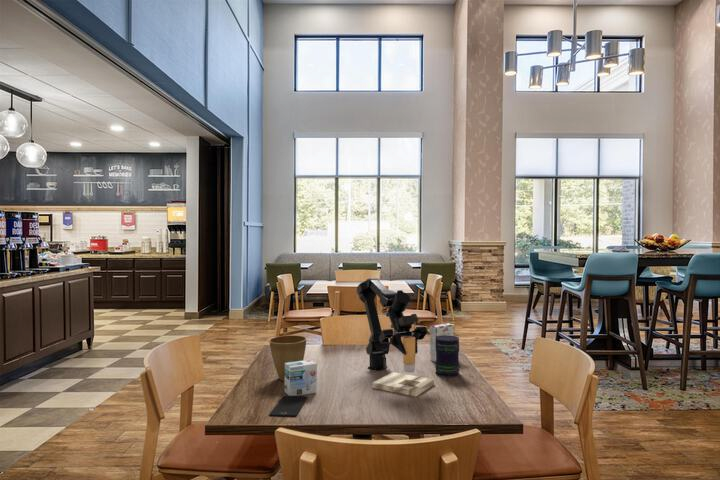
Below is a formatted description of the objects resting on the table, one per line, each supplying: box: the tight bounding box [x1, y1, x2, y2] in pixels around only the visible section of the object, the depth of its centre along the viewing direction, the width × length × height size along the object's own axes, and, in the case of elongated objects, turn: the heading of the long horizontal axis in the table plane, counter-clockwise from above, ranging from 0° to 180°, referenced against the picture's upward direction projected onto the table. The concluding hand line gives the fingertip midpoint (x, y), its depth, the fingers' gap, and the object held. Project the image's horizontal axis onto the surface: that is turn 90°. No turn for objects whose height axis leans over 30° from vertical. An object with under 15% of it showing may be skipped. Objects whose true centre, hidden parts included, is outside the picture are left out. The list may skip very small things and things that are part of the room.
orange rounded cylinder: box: [402, 336, 416, 373], centre depth 171 cm, size 4×4×12 cm
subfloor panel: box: [372, 371, 435, 397], centre depth 174 cm, size 18×16×2 cm
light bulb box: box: [284, 359, 318, 396], centre depth 168 cm, size 11×7×11 cm, turn 118°
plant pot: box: [268, 334, 307, 382], centre depth 184 cm, size 15×15×16 cm
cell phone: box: [268, 395, 309, 418], centre depth 154 cm, size 9×18×1 cm, turn 175°
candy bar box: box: [429, 322, 455, 363], centre depth 211 cm, size 11×5×16 cm, turn 120°
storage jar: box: [434, 335, 460, 378], centre depth 190 cm, size 10×10×15 cm
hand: (411, 353), depth 170 cm, fingers closed on orange rounded cylinder, 4 cm apart
